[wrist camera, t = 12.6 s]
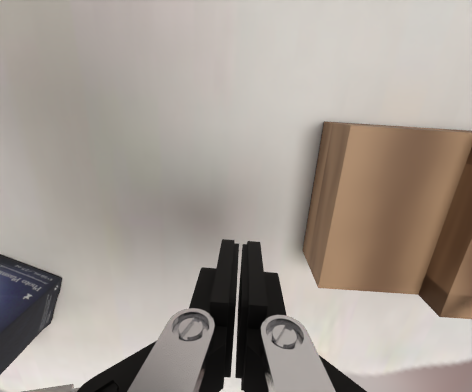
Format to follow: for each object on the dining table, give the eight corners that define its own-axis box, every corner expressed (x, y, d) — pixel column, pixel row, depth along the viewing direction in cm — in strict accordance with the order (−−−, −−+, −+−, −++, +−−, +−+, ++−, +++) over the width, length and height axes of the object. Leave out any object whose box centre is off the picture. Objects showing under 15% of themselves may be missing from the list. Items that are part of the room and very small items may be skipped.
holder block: (302, 250, 22) (327, 309, 16) (324, 121, 19) (367, 127, 12) (506, 264, 22) (617, 328, 16) (567, 137, 18) (744, 151, 12)
